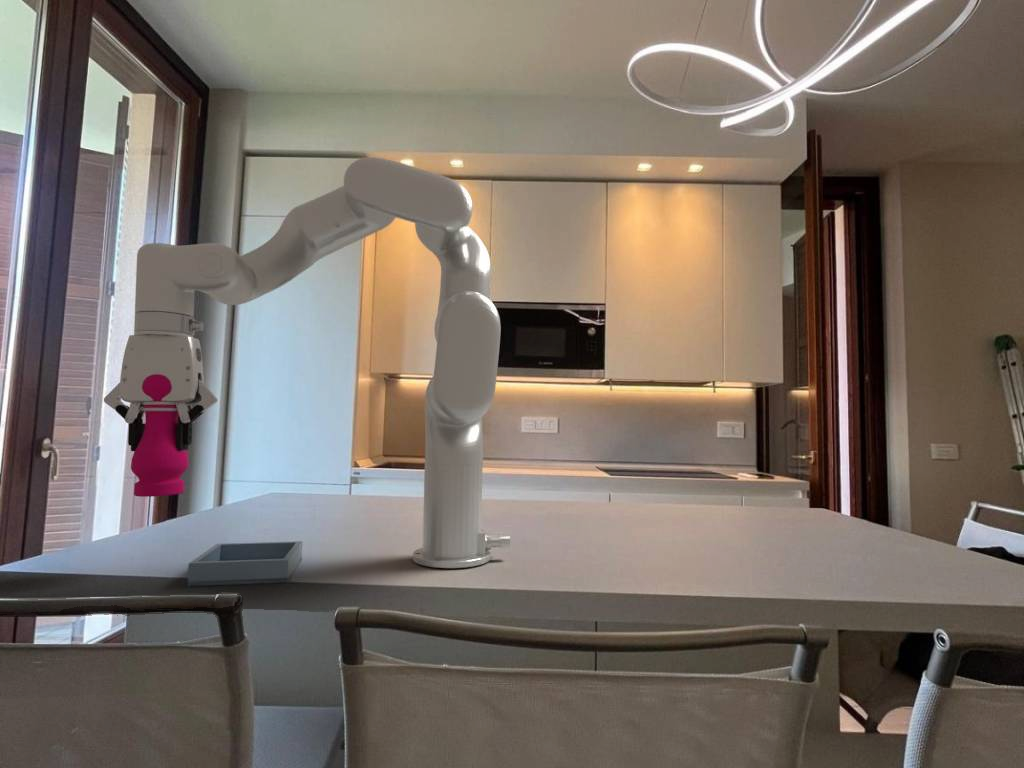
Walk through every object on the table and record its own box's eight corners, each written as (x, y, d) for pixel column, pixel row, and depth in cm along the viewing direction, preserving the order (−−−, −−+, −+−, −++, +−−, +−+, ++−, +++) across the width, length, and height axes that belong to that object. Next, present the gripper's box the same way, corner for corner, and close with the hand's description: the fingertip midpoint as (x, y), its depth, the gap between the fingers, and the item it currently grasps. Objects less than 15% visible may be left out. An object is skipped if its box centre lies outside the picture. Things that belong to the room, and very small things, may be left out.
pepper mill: (198, 491, 86) (202, 360, 87) (164, 497, 79) (169, 355, 80) (154, 490, 87) (158, 361, 88) (117, 497, 80) (122, 356, 81)
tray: (301, 560, 90) (302, 541, 90) (287, 582, 78) (288, 559, 78) (216, 563, 88) (217, 543, 88) (187, 586, 75) (188, 563, 76)
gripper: (233, 333, 90) (230, 448, 89) (112, 330, 86) (107, 450, 85) (218, 325, 83) (215, 450, 81) (86, 322, 79) (80, 452, 78)
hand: (160, 449), depth 83 cm, fingers closed on pepper mill, 5 cm apart
